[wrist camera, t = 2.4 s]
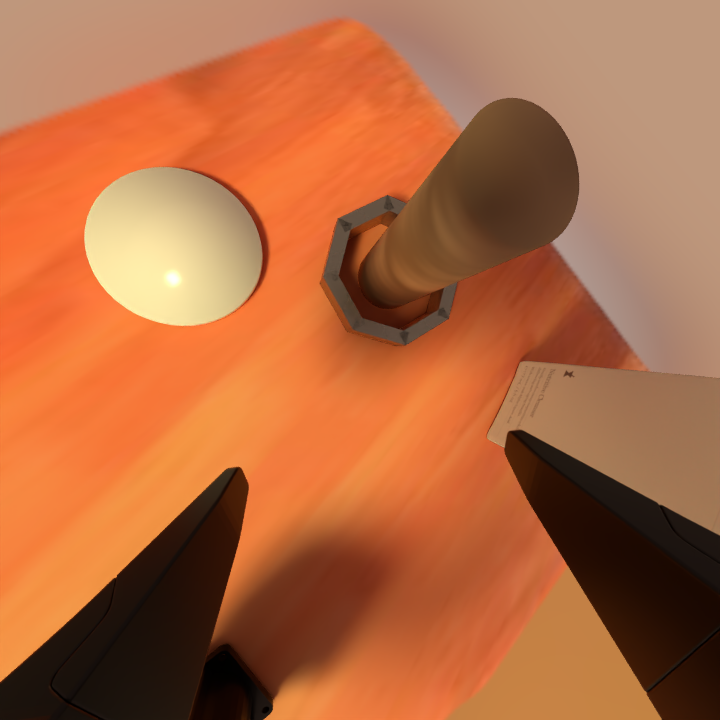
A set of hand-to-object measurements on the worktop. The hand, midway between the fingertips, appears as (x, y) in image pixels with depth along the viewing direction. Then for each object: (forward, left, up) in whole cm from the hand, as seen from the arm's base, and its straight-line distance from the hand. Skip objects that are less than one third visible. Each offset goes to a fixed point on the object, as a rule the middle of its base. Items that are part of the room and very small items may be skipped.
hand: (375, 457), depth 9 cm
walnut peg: (+6, -9, -12) cm, 16 cm away
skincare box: (-11, -15, -12) cm, 22 cm away
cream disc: (+14, +3, -12) cm, 18 cm away
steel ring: (+6, -9, -12) cm, 16 cm away
